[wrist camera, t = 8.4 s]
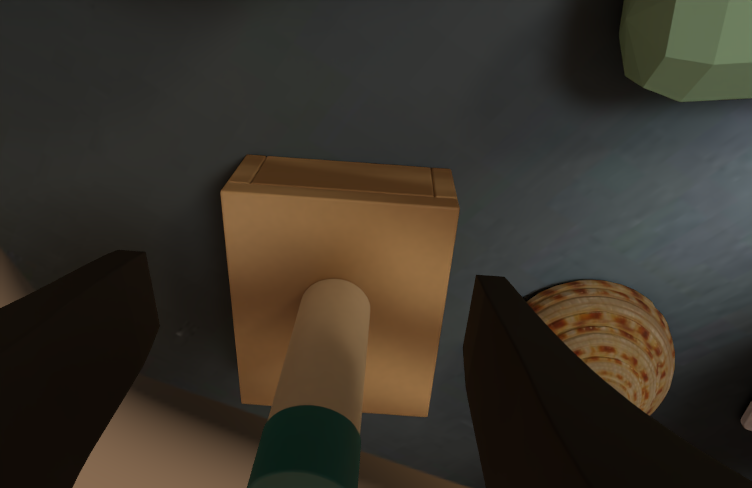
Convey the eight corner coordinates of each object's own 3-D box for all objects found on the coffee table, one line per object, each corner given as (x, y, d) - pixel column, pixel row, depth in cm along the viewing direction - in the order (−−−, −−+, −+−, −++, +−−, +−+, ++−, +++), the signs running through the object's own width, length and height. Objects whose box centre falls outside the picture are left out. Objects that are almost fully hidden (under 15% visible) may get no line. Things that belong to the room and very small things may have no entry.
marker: (369, 337, 20) (353, 543, 13) (300, 332, 20) (247, 535, 13) (373, 279, 19) (358, 475, 12) (299, 273, 19) (239, 466, 12)
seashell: (481, 461, 25) (516, 402, 19) (473, 353, 29) (501, 273, 22) (652, 469, 25) (746, 412, 19) (624, 360, 29) (696, 280, 22)
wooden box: (424, 361, 25) (427, 418, 22) (260, 349, 25) (240, 404, 22) (451, 168, 20) (460, 208, 17) (246, 153, 20) (219, 190, 17)
